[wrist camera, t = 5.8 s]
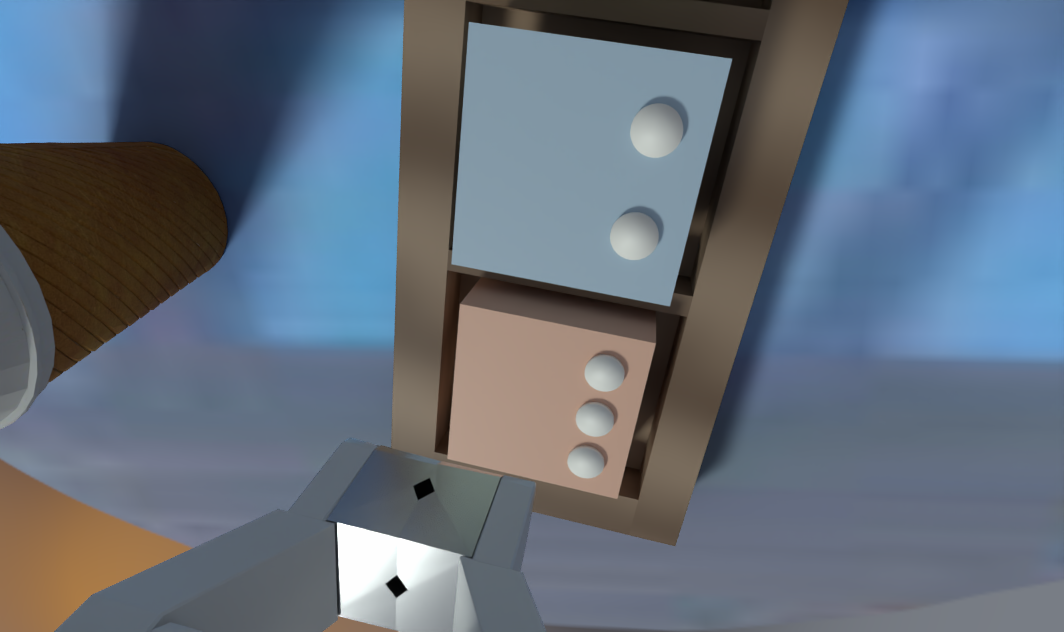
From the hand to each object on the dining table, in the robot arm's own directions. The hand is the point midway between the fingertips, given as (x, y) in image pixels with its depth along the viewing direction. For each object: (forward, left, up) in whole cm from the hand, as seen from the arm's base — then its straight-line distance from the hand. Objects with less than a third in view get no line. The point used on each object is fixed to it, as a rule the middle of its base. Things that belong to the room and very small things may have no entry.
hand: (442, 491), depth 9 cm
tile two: (-3, 0, -13) cm, 14 cm away
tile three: (+6, 0, -15) cm, 16 cm away
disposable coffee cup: (+3, -19, -16) cm, 25 cm away
